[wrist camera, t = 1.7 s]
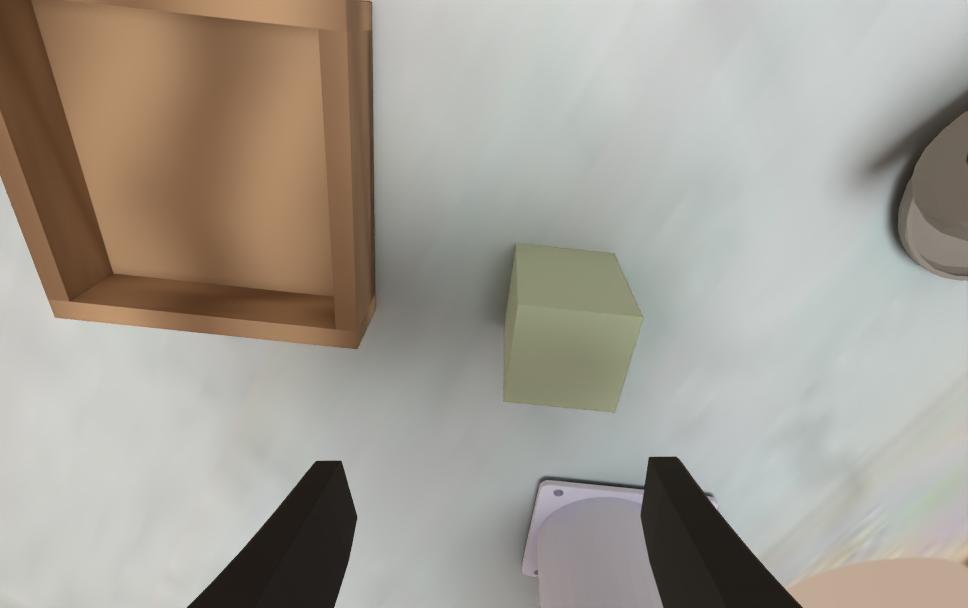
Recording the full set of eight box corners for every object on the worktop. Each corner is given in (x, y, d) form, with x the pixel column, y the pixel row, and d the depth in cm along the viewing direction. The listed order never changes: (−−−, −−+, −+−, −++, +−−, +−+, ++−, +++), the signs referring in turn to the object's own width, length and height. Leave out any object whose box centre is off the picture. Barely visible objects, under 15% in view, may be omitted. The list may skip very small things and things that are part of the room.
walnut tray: (371, 1, 16) (345, -2, 14) (375, 309, 22) (357, 349, 19) (9, -40, 16) (-87, -51, 13) (109, 281, 22) (55, 317, 19)
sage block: (613, 253, 20) (643, 317, 16) (593, 335, 22) (615, 412, 18) (515, 242, 20) (518, 304, 16) (504, 326, 22) (503, 401, 18)
